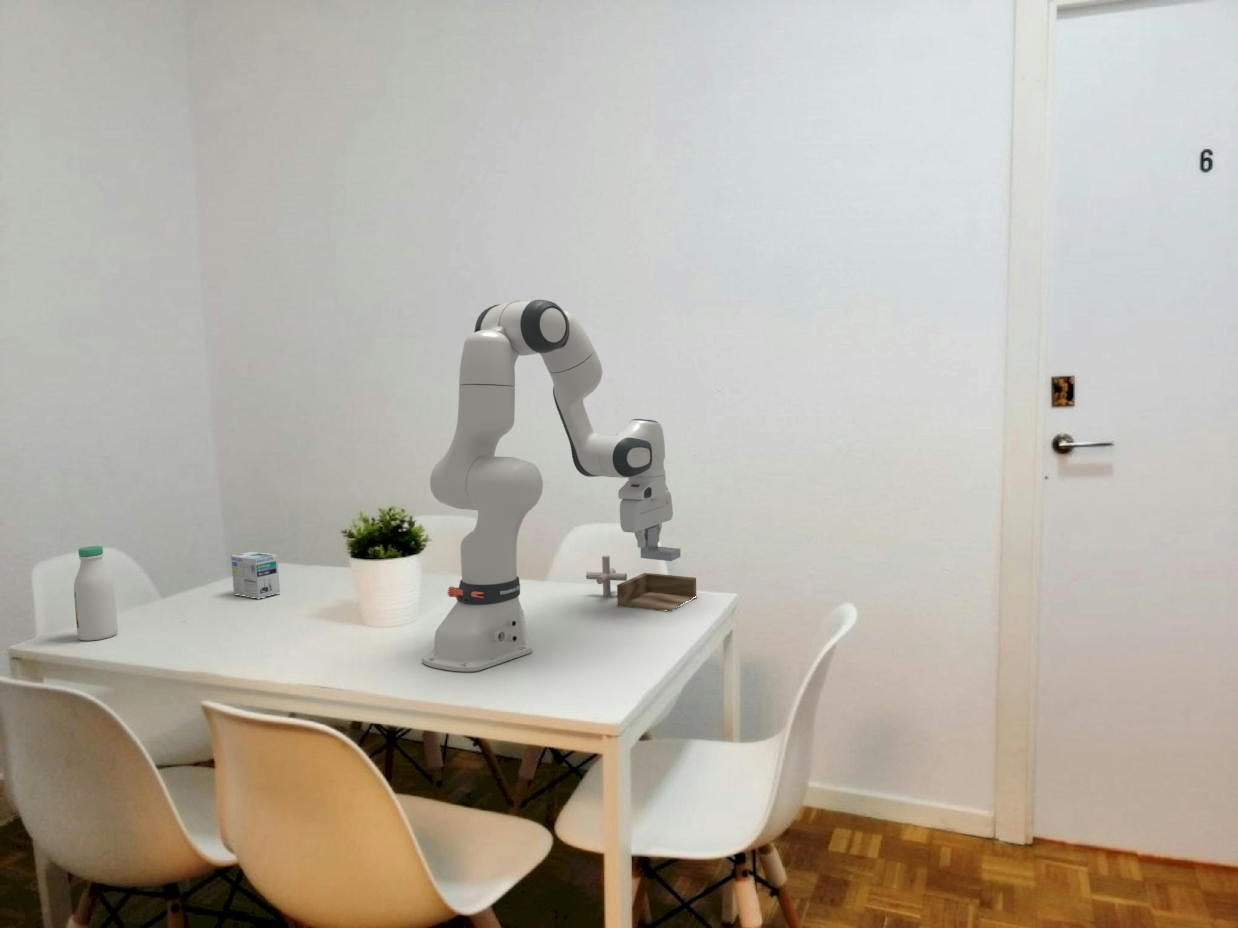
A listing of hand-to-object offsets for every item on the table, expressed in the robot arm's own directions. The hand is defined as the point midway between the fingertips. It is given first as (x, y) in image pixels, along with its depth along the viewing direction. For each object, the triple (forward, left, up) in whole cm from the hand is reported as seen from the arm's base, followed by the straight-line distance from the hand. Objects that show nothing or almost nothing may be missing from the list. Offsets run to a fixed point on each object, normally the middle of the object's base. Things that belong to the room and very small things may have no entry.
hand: (648, 545), depth 215 cm
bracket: (0, -3, -3) cm, 4 cm away
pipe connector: (+1, +13, -14) cm, 19 cm away
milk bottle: (-75, +99, -14) cm, 125 cm away
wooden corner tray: (+1, -1, -14) cm, 14 cm away
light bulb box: (-34, +98, -14) cm, 104 cm away
